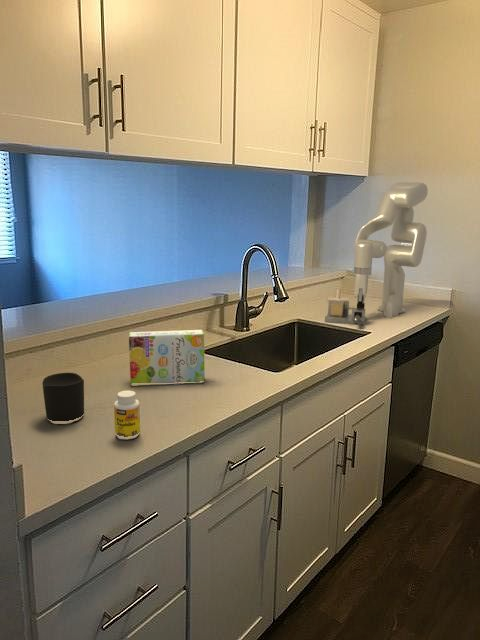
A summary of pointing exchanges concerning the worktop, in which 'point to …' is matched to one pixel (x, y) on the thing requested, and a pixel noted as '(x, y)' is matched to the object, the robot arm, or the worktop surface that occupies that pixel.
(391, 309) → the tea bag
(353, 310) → the bracket
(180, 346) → the snack box
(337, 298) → the pipe connector
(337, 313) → the block
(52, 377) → the pen holder
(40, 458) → the worktop surface
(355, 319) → the lock pin
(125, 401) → the supplement bottle
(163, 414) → the worktop surface
